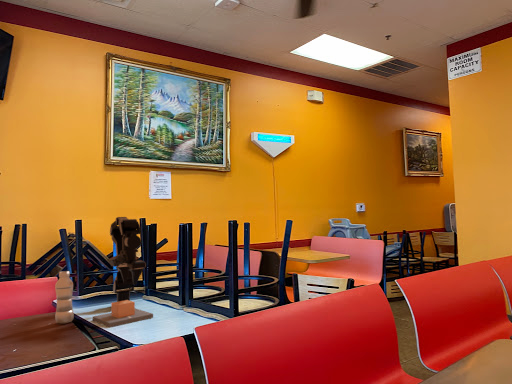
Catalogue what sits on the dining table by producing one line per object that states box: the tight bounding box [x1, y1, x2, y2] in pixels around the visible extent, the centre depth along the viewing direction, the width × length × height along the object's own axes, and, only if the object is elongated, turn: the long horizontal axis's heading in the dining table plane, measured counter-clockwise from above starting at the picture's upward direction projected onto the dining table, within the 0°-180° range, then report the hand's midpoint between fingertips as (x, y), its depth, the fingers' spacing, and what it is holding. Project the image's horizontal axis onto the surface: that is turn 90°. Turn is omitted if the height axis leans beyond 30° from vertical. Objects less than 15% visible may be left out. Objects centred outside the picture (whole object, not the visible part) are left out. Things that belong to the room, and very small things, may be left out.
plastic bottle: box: [54, 270, 75, 324], centre depth 153 cm, size 6×7×20 cm
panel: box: [92, 308, 154, 328], centre depth 156 cm, size 16×18×5 cm
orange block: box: [110, 300, 136, 318], centre depth 156 cm, size 6×7×5 cm
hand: (129, 283), depth 169 cm, fingers open, 9 cm apart
